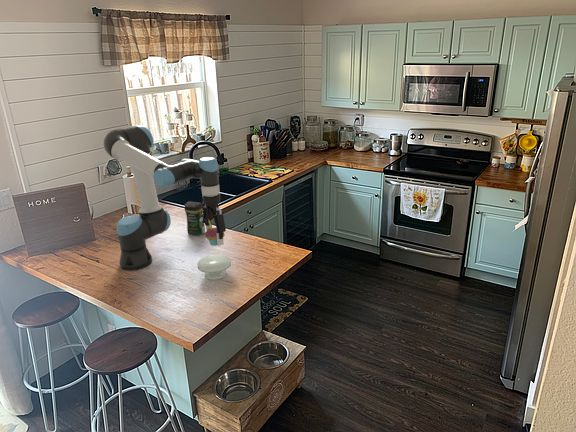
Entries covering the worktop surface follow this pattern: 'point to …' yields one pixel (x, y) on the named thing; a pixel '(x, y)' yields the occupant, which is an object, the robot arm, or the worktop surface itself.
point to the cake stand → (214, 266)
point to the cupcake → (212, 235)
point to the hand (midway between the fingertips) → (215, 241)
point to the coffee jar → (194, 218)
